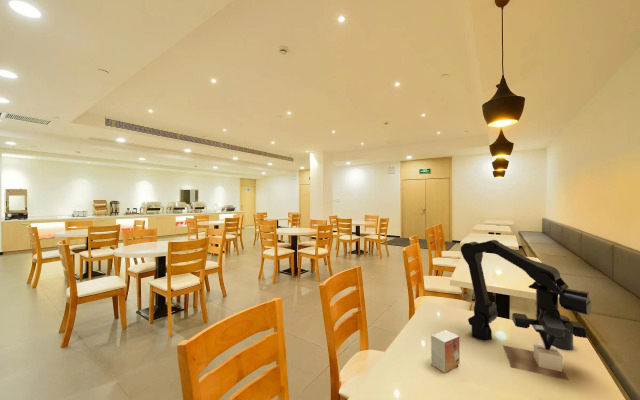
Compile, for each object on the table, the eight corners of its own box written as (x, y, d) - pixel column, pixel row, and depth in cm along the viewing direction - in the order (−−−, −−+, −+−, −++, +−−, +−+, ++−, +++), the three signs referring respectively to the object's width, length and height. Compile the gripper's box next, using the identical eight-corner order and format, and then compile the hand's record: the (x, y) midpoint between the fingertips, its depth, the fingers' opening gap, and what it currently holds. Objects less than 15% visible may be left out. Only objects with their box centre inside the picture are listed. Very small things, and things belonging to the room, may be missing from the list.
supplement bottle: (578, 353, 96) (578, 321, 96) (556, 352, 98) (556, 320, 97) (564, 343, 103) (564, 313, 103) (544, 341, 104) (544, 312, 104)
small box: (444, 373, 87) (444, 342, 87) (430, 364, 92) (430, 334, 92) (460, 366, 91) (459, 336, 91) (445, 357, 96) (445, 329, 96)
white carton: (539, 366, 88) (538, 351, 88) (533, 356, 93) (533, 342, 93) (562, 371, 85) (562, 356, 85) (555, 361, 91) (555, 346, 91)
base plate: (511, 370, 88) (511, 367, 88) (502, 347, 101) (502, 345, 101) (569, 383, 82) (569, 380, 82) (552, 357, 94) (552, 354, 94)
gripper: (519, 308, 86) (519, 355, 86) (596, 319, 78) (596, 371, 78) (511, 296, 96) (511, 338, 96) (579, 304, 88) (579, 350, 88)
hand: (547, 349), depth 89 cm, fingers closed, pressing on white carton
